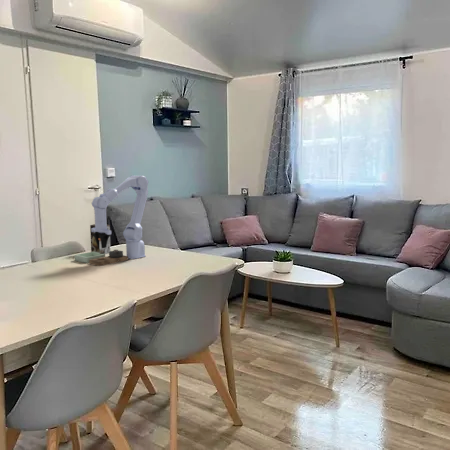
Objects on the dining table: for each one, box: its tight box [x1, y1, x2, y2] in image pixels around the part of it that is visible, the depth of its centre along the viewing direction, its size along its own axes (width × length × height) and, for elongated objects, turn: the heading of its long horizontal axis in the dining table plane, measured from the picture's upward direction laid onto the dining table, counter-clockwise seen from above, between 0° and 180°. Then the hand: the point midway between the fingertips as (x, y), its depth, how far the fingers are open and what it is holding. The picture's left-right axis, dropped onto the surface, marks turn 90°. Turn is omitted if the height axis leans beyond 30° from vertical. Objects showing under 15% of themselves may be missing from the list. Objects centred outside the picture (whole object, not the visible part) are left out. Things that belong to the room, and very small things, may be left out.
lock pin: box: [98, 238, 106, 255], centre depth 238 cm, size 3×3×8 cm
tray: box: [74, 251, 106, 264], centre depth 246 cm, size 11×11×3 cm
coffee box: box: [89, 223, 111, 255], centre depth 264 cm, size 9×6×16 cm
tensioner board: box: [88, 249, 129, 267], centre depth 242 cm, size 18×8×6 cm, turn 139°
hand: (101, 247), depth 238 cm, fingers closed on lock pin, 3 cm apart
